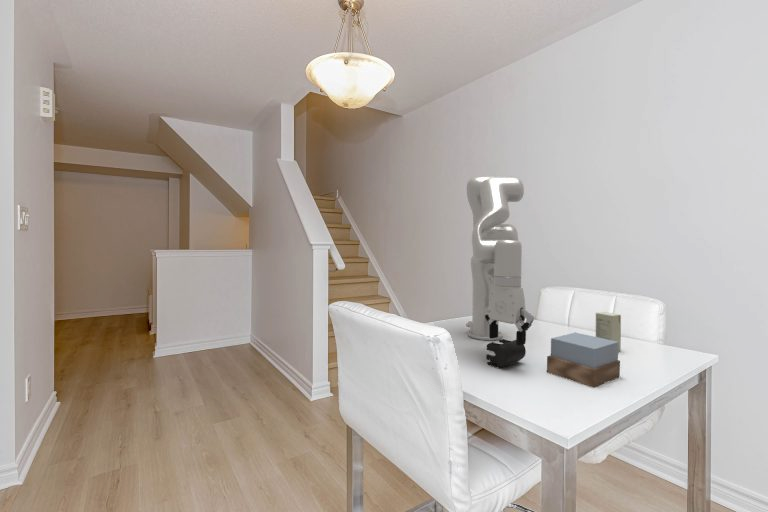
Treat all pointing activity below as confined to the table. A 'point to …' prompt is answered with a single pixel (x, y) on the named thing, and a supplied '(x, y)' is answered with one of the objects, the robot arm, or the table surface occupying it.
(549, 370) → the walnut base block
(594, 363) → the slate top block
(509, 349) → the end cap
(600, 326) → the skincare box
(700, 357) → the table surface
